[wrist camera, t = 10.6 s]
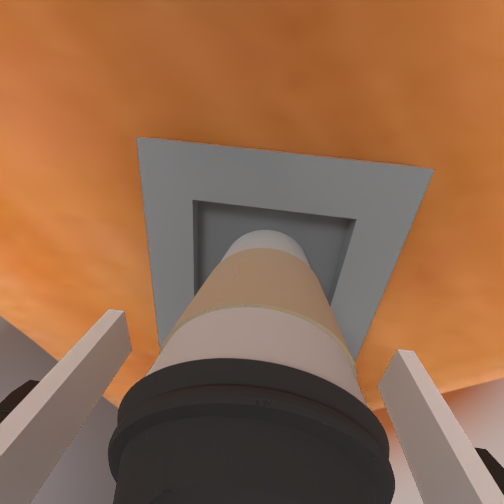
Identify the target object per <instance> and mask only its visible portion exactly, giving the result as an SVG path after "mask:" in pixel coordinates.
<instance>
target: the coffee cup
mask: <svg viewBox="0 0 504 504" xmlns="http://www.w3.org/2000/svg"><path fill="white" fill-rule="evenodd" d="M108 460H109V466H110V470H111V473H112V476H113V478H114V480H115V481H116V483H117V484H116V490H115V495H114V501H113V504H390V503H391V501H392V498H393V495H394V491H395V478H394V474H393V471H392V467H391V464H390V462H389V442H388V438H387V435H386V433H385V430H384V428H383V426H382V425H381V423H380V422H379V420H378V419H377V417H376V416H375V415H374V414H373V413H372V411H371V410H370V409H369V408H368V407H367V405H366V403H365V400H364V398H363V395H362V393H361V390H360V388H359V385H358V383H357V371H356V367H355V363H354V361H353V359H352V356H351V354H350V352H349V349H348V347H347V345H346V342H345V340H344V338H343V336H342V333H341V331H340V329H339V326H338V324H337V322H336V319H335V317H334V315H333V312H332V310H331V308H330V306H329V303H328V301H327V299H326V296H325V294H324V292H323V289H322V287H321V285H320V283H319V280H318V278H317V276H316V275H315V273H314V272H313V271H312V269H311V268H310V265H309V263H308V260H307V258H306V255H305V253H304V251H303V249H302V248H301V246H300V245H299V244H298V243H297V242H296V241H295V240H294V239H293V238H291V237H290V236H288V235H286V234H284V233H281V232H278V231H274V230H257V231H253V232H250V233H247V234H245V235H243V236H242V237H240V238H239V239H237V240H236V241H235V242H234V243H233V244H232V245H231V247H230V248H229V250H228V251H227V253H226V254H225V256H224V257H223V259H222V260H221V262H220V263H219V264H218V265H217V266H216V267H215V269H214V270H213V271H212V273H211V274H210V275H209V277H208V278H207V280H206V281H205V283H204V284H203V285H202V287H201V288H200V290H199V291H198V293H197V294H196V295H195V297H194V298H193V300H192V301H191V303H190V304H189V305H188V307H187V308H186V310H185V311H184V313H183V314H182V315H181V317H180V318H179V320H178V321H177V322H176V324H175V325H174V327H173V328H172V330H171V331H170V332H169V334H168V335H167V337H166V338H165V340H164V342H163V344H162V346H161V349H160V352H159V356H158V358H157V359H156V361H155V362H154V364H153V365H152V367H151V368H150V370H149V372H148V373H147V375H146V376H145V377H144V378H143V379H141V380H140V381H138V382H137V383H136V384H135V385H134V386H132V387H131V388H130V390H129V391H128V392H127V393H126V395H125V396H124V398H123V399H122V402H121V404H120V407H119V410H118V426H117V427H116V429H115V431H114V433H113V435H112V437H111V440H110V443H109V447H108Z"/></svg>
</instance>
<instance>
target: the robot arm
mask: <svg viewBox="0 0 504 504" xmlns="http://www.w3.org/2000/svg"><path fill="white" fill-rule="evenodd" d="M131 351H132V348H131V343H130V338H129V333H128V328H127V323H126V318H125V313H124V311H121V310H114V309H108V310H107V311H106V313H105V314H104V315H103V316H102V317H101V318H100V319H99V320H98V321H97V322H96V323H95V324H94V325H93V326H92V327H91V328H90V329H89V330H88V332H87V333H86V334H85V335H84V336H83V337H82V338H81V339H80V340H79V341H78V342H77V343H76V344H75V345H74V346H73V347H72V348H71V349H70V351H69V352H68V353H67V354H66V355H65V356H64V357H63V358H62V359H61V360H60V361H59V362H58V364H56V365H55V366H54V367H53V369H52V370H51V371H50V372H49V373H48V374H47V375H46V376H45V377H44V378H43V379H42V380H41V381H34V380H29V381H28V382H26V383H25V384H23V385H22V386H20V387H19V388H17V389H16V390H14V391H13V392H11V393H10V394H9V395H8V396H7V397H6V398H5V399H4V400H3V401H2V402H1V403H0V504H30V503H31V502H32V500H33V499H34V497H35V496H36V494H37V493H38V491H39V489H40V488H41V487H42V485H43V484H44V482H45V481H46V479H47V478H48V476H49V475H50V473H51V472H52V470H53V468H54V467H55V466H56V464H57V462H58V461H59V460H60V458H61V456H62V455H63V453H64V452H65V450H66V449H67V447H68V446H69V444H70V443H71V441H72V440H73V438H74V437H75V435H76V434H77V432H78V431H79V429H80V428H81V426H82V425H83V423H84V422H85V420H86V419H87V417H88V416H89V414H90V412H91V411H92V410H93V408H94V407H95V405H96V404H97V402H98V401H99V399H100V398H101V396H102V395H103V393H104V392H105V390H106V389H107V387H108V386H109V384H110V383H111V381H112V380H113V378H114V377H115V375H116V374H117V372H118V370H119V369H120V367H121V366H122V364H123V363H124V361H125V360H126V358H127V357H128V355H129V354H130V352H131ZM378 388H379V391H380V394H381V396H382V399H383V401H384V404H385V406H386V409H387V411H388V414H389V416H390V419H391V421H392V424H393V426H394V429H395V432H396V434H397V437H398V439H399V442H400V444H401V447H402V449H403V452H404V454H405V457H406V460H407V462H408V465H409V467H410V469H411V472H412V475H413V477H414V480H415V482H416V485H417V487H418V490H419V493H420V495H421V498H422V500H423V503H424V504H504V468H503V467H502V466H501V465H500V464H499V463H498V462H497V461H496V460H495V458H493V456H492V455H491V454H490V453H489V452H488V451H487V450H486V449H480V448H474V447H473V445H472V444H471V442H470V441H469V439H468V437H467V436H466V434H465V433H464V431H463V429H462V428H461V426H460V424H459V423H458V422H457V420H456V418H455V416H454V415H453V413H452V412H451V410H450V408H449V407H448V405H447V404H446V402H445V400H444V399H443V397H442V396H441V394H440V392H439V391H438V389H437V387H436V386H435V384H434V383H433V381H432V379H431V378H430V376H429V375H428V373H427V371H426V370H425V368H424V366H423V365H422V363H421V362H420V360H419V358H418V357H417V355H416V354H415V352H414V351H409V350H402V349H397V350H396V352H395V354H394V356H393V358H392V360H391V361H390V363H389V365H388V367H387V369H386V371H385V373H384V375H383V377H382V378H381V380H380V382H379V384H378Z"/></svg>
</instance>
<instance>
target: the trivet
mask: <svg viewBox="0 0 504 504" xmlns="http://www.w3.org/2000/svg"><path fill="white" fill-rule="evenodd" d="M136 141H137V150H138V159H139V168H140V177H141V186H142V195H143V205H144V214H145V223H146V232H147V241H148V250H149V259H150V268H151V277H152V286H153V295H154V305H155V314H156V323H157V332H158V341H159V346H162V344H163V342H164V340H165V338H166V337H167V335H168V334H169V332H170V331H171V330H172V328H173V327H174V325H175V324H176V322H177V321H178V320H179V318H180V317H181V315H182V314H183V313H184V311H185V310H186V308H187V307H188V305H189V304H190V303H191V301H192V300H193V298H194V297H195V295H196V294H197V293H198V291H199V290H200V288H201V287H202V285H203V284H204V283H205V281H206V280H207V278H208V277H209V275H210V274H211V273H212V271H213V270H214V269H215V267H216V266H217V265H218V264H219V263H220V262H221V260H222V259H223V257H224V256H225V254H226V253H227V251H228V250H229V248H230V247H231V245H232V244H233V243H234V242H235V241H236V240H237V239H239V238H240V237H242V236H243V235H245V234H247V233H250V232H253V231H257V230H274V231H278V232H281V233H284V234H286V235H288V236H290V237H291V238H293V239H294V240H295V241H296V242H297V243H298V244H299V245H300V246H301V248H302V249H303V251H304V253H305V255H306V258H307V260H308V263H309V265H310V268H311V269H312V271H313V272H314V273H315V275H316V276H317V278H318V280H319V283H320V285H321V287H322V289H323V292H324V294H325V296H326V299H327V301H328V303H329V306H330V308H331V310H332V312H333V315H334V317H335V319H336V322H337V324H338V326H339V329H340V331H341V333H342V336H343V338H344V340H345V342H346V345H347V347H348V349H349V352H350V354H351V356H352V359H353V361H354V363H355V361H356V358H357V356H358V353H359V351H360V349H361V346H362V344H363V341H364V339H365V337H366V334H367V332H368V329H369V327H370V324H371V322H372V320H373V317H374V315H375V312H376V310H377V307H378V305H379V303H380V300H381V298H382V295H383V293H384V291H385V288H386V286H387V283H388V281H389V278H390V276H391V274H392V271H393V269H394V266H395V264H396V262H397V259H398V257H399V254H400V252H401V249H402V247H403V245H404V242H405V240H406V237H407V235H408V233H409V230H410V228H411V225H412V223H413V220H414V218H415V216H416V213H417V211H418V208H419V206H420V204H421V201H422V199H423V196H424V194H425V191H426V189H427V187H428V184H429V182H430V179H431V177H432V174H433V172H434V170H435V169H431V168H426V167H421V166H416V165H407V164H397V163H388V162H379V161H369V160H360V159H351V158H341V157H332V156H323V155H314V154H304V153H295V152H286V151H276V150H267V149H258V148H248V147H239V146H230V145H221V144H211V143H202V142H193V141H183V140H174V139H165V138H155V137H136Z"/></svg>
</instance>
